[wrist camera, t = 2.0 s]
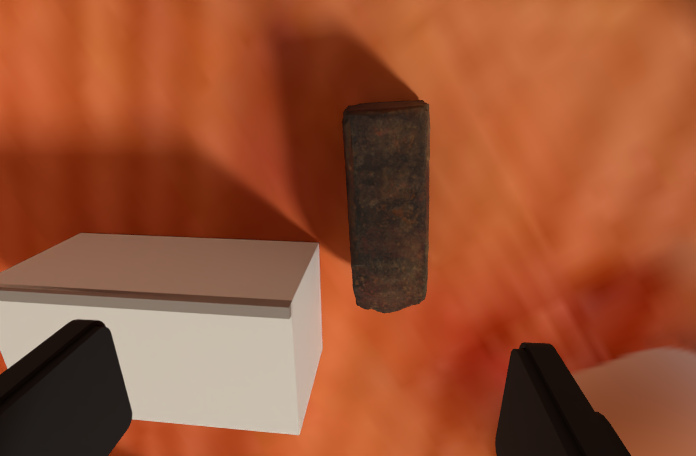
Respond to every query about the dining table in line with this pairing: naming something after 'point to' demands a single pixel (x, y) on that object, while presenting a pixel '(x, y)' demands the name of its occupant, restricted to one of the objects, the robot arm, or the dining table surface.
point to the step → (183, 322)
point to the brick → (388, 201)
